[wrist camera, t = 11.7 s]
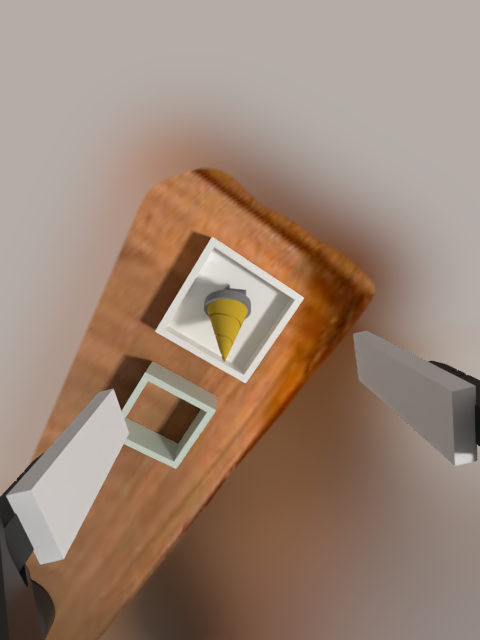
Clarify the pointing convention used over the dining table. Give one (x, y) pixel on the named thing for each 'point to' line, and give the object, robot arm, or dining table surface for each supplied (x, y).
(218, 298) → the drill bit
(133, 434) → the pale green square frame
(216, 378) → the dining table surface
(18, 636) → the robot arm
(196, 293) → the tray
